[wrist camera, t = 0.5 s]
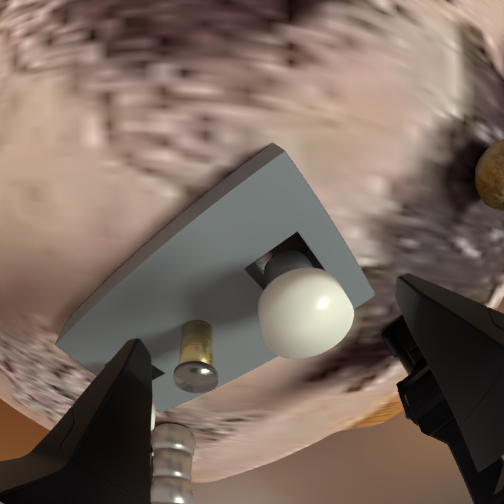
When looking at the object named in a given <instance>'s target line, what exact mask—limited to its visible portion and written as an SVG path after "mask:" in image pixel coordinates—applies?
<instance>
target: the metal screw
mask: <svg viewBox="0 0 504 504" xmlns="http://www.w3.org/2000/svg"><path fill="white" fill-rule="evenodd" d="M173 381H174V383H175V385H176V386H177V387H178V388H180V389H181V390H184V391H186V392H190V393H205V392H209V391H211V390H213V389H214V388H215V387H216V386H217V384H218V373H217V371H216V369H215V368H214V367H213V330H212V327H211V326H210V325H209V324H208V323H207V322H205V321H202V320H191V321H188V322H186V323H185V324H184V326H183V328H182V337H181V347H180V358H179V365H178V366H176V368H175V369H174V375H173Z"/></svg>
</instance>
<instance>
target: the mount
mask: <svg viewBox="0 0 504 504" xmlns="http://www.w3.org/2000/svg"><path fill="white" fill-rule="evenodd" d="M297 231H298V233H299V234H300V235H301V237H302V238H303V240H304V241H305V242H306V244H307V245H308V246H309V248H310V249H311V250H310V251H309V252H307V253H306V254H304V255H306V256H307V258H308V259H309V261H310V262H311V264H312V266H313V268H318V269H322V270H324V271H327V272H329V273H330V274H332V275H333V276H334V277H335V278H336V279H337V281H338V282H339V284H340V285H341V287H342V289H343V290H344V292H345V294H346V295H347V297H348V299H349V300H350V302H351V304H352V306H353V310H354V309H355V308H357V307H358V306H360V305H361V304H363V303H364V302H366V301H367V300H368V299H370V298H371V297H373V296H374V295H375V293H374V291H373V290H372V288H371V286H370V284H369V282H368V280H367V279H366V277H365V275H364V273H363V272H362V270H361V268H360V266H359V264H358V263H357V261H356V259H355V258H354V256H353V254H352V252H351V251H350V249H349V247H348V246H347V244H346V242H345V241H344V239H343V237H342V236H341V234H340V232H339V231H338V229H337V228H336V226H335V224H334V223H333V221H332V220H331V218H330V216H329V215H328V213H327V212H326V210H325V209H324V207H323V205H322V204H321V202H320V201H319V199H318V198H317V196H316V195H315V193H314V192H313V190H312V189H311V187H310V186H309V184H308V183H307V181H306V180H305V178H304V177H303V175H302V174H301V172H300V171H299V170H298V168H297V167H296V165H295V164H294V162H293V161H292V160H291V158H290V157H289V155H288V154H287V153H286V151H285V150H283V149H282V148H280V147H279V146H277V145H276V144H274V143H272V144H271V145H269V146H268V147H266V148H265V149H264V150H262V151H261V152H259V153H258V154H257V155H255V156H254V157H253V158H251V159H250V160H248V161H247V162H246V163H244V164H243V165H242V166H240V167H239V168H238V169H236V170H235V171H234V172H233V173H231V174H230V175H229V176H227V177H226V178H225V179H223V180H222V181H221V182H220V183H218V184H217V185H216V186H214V187H213V188H212V189H211V190H209V191H208V192H207V193H206V194H204V195H203V196H202V197H201V198H199V199H198V200H197V201H196V202H194V203H193V204H192V205H191V206H190V207H188V208H187V209H186V210H185V211H183V212H182V213H181V214H180V215H179V216H177V217H176V218H175V219H174V220H173V221H172V222H170V223H169V224H168V225H167V226H166V227H164V228H163V229H162V230H161V231H160V232H159V233H158V234H156V235H155V236H154V237H153V238H152V239H151V240H150V241H148V242H147V243H146V244H145V245H144V246H143V247H142V248H141V249H139V250H138V251H137V252H136V253H135V254H134V255H133V256H132V257H131V258H129V259H128V260H127V261H126V262H125V263H124V264H123V265H122V266H121V267H120V268H119V269H118V270H117V271H115V272H114V273H113V274H112V275H111V276H110V277H109V278H108V279H107V280H106V281H105V282H104V283H103V284H102V285H101V286H100V287H99V288H98V289H97V290H96V291H95V292H94V293H93V294H92V295H91V296H90V297H89V298H88V299H87V300H86V301H85V302H84V303H83V304H82V305H81V306H80V307H79V308H78V309H77V310H76V311H75V312H74V313H73V314H72V315H71V316H70V317H69V318H68V320H67V322H66V324H65V326H64V328H63V329H62V331H61V333H60V335H59V337H58V339H57V342H56V344H55V345H56V346H57V347H59V348H60V349H61V350H63V351H64V352H65V353H66V354H68V355H69V356H70V357H72V358H73V359H74V360H76V361H77V362H78V363H80V364H81V365H83V366H84V367H85V368H87V369H88V370H90V371H91V372H92V373H94V374H95V375H97V376H98V374H99V373H100V372H101V371H102V370H103V368H104V367H105V366H106V365H107V364H108V363H109V361H110V360H111V359H112V358H113V357H114V356H115V354H116V353H117V352H118V351H119V350H120V349H121V348H122V346H123V345H124V344H125V343H126V342H127V341H128V340H130V339H135V338H139V339H141V341H142V342H143V344H144V345H145V347H146V348H147V350H148V351H149V353H150V355H151V363H152V393H153V398H152V399H153V400H154V402H155V403H156V411H157V412H159V413H160V412H163V411H165V410H168V409H170V408H173V407H175V406H177V405H180V404H182V403H184V402H187V401H189V400H191V399H193V398H196V397H198V396H200V395H202V394H204V393H190V392H186V391H184V390H181V389H180V388H178V387H177V386H176V385H175V383H174V381H173V375H174V369H175V368H176V366H178V365H179V358H180V347H181V337H182V328H183V326H184V324H185V323H186V322H188V321H191V320H202V321H205V322H207V323H208V324H209V325H210V326H211V327H212V330H213V367H214V368H215V369H216V371H217V373H218V384H217V386H216V387H215V388H217V387H219V386H221V385H223V384H225V383H227V382H229V381H232V380H234V379H236V378H238V377H239V376H241V375H243V374H245V373H247V372H249V371H251V370H253V369H255V368H257V367H259V366H261V365H262V364H264V363H266V362H268V361H270V360H272V359H273V358H275V357H277V356H279V355H277V354H275V353H273V352H272V351H270V350H269V349H268V348H267V346H266V345H265V343H264V341H263V337H262V332H261V327H260V321H259V316H258V302H259V299H260V296H261V294H262V293H263V291H264V289H265V288H266V283H265V279H264V270H263V268H262V267H261V266H260V265H259V264H258V263H257V262H256V260H257V259H259V258H260V257H261V256H263V255H264V254H266V253H267V252H269V251H270V250H271V249H273V248H274V247H276V246H277V245H279V244H280V243H281V242H283V241H284V240H286V239H287V238H288V237H290V236H291V235H293V234H294V233H296V232H297ZM215 388H214V389H215ZM205 393H207V392H205Z"/></svg>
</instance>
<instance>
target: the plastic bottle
mask: <svg viewBox="0 0 504 504" xmlns="http://www.w3.org/2000/svg"><path fill="white" fill-rule="evenodd" d="M151 439H152V449H153V478H152V487H151V500H150V501H151V504H195V502H194V498H193V492H192V482H191V470H192V459H193V455H194V450H195V444H196V443H195V438H194V434H193V433H192V432H191V430H190V429H189V428H187V427H185V426H182V425H178V424H170V423H167V424H160V425H158V426H157V427H156V428H155V429H154V431H153V434H152V438H151Z"/></svg>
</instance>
